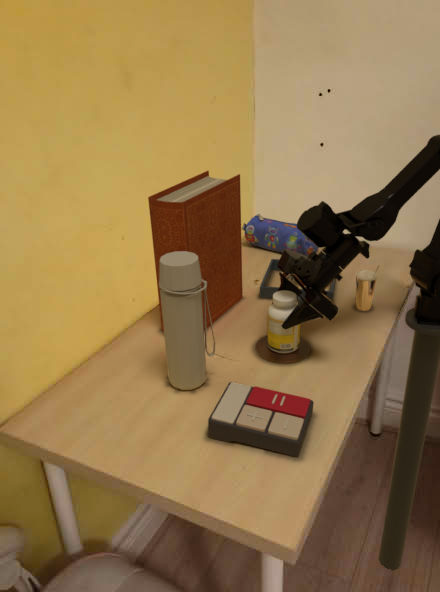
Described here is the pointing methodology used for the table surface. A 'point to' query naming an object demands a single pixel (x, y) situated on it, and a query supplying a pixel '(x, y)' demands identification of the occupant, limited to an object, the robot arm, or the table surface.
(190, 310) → the water bottle
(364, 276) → the milkshake
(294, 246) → the pencil case
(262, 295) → the dark grey square frame
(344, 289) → the table surface
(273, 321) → the pill bottle
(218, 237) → the book
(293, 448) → the button control box
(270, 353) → the coaster
